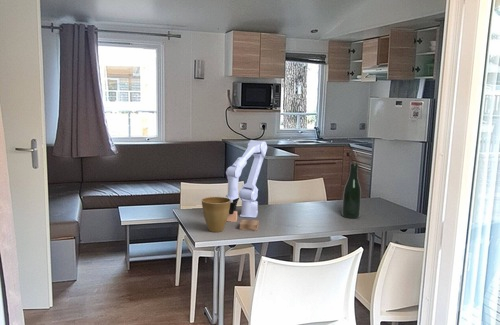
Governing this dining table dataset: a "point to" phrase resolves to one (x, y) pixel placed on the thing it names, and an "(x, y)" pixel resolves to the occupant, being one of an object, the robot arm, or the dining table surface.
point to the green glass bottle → (352, 194)
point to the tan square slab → (249, 224)
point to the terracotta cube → (232, 217)
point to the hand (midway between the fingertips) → (232, 212)
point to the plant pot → (216, 212)
